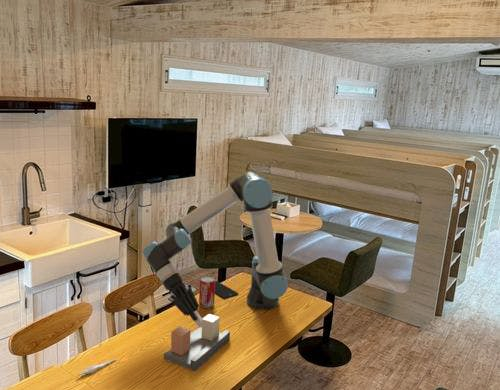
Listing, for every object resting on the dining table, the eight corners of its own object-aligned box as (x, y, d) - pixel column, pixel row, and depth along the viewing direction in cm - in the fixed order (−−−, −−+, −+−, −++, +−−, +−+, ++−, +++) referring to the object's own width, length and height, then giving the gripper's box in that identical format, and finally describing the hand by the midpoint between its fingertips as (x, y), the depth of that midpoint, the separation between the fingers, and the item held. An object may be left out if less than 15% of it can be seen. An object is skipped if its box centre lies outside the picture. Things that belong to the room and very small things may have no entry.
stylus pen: (80, 379, 154) (80, 374, 153) (76, 376, 155) (76, 371, 155) (119, 363, 165) (119, 358, 165) (114, 360, 167) (115, 355, 166)
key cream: (201, 337, 179) (201, 318, 177) (208, 331, 183) (209, 313, 181) (212, 341, 177) (212, 322, 175) (219, 335, 181) (219, 317, 179)
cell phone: (224, 299, 217) (224, 298, 216) (202, 286, 230) (202, 284, 229) (238, 295, 222) (238, 293, 222) (216, 282, 235) (216, 280, 235)
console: (163, 358, 168) (163, 349, 167) (200, 330, 188) (200, 321, 187) (194, 371, 161) (195, 361, 160) (229, 340, 182) (230, 331, 181)
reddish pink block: (171, 351, 168) (171, 331, 167) (179, 345, 173) (179, 326, 171) (182, 355, 166) (182, 335, 164) (190, 349, 170) (190, 329, 169)
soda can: (205, 300, 215) (206, 274, 212) (217, 304, 211) (218, 278, 208) (195, 305, 209) (196, 279, 206) (207, 310, 205) (208, 283, 202)
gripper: (174, 276, 192) (206, 323, 188) (153, 287, 180) (187, 337, 177) (184, 267, 188) (217, 315, 184) (164, 277, 177) (198, 329, 173)
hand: (202, 325), depth 181 cm, fingers closed
